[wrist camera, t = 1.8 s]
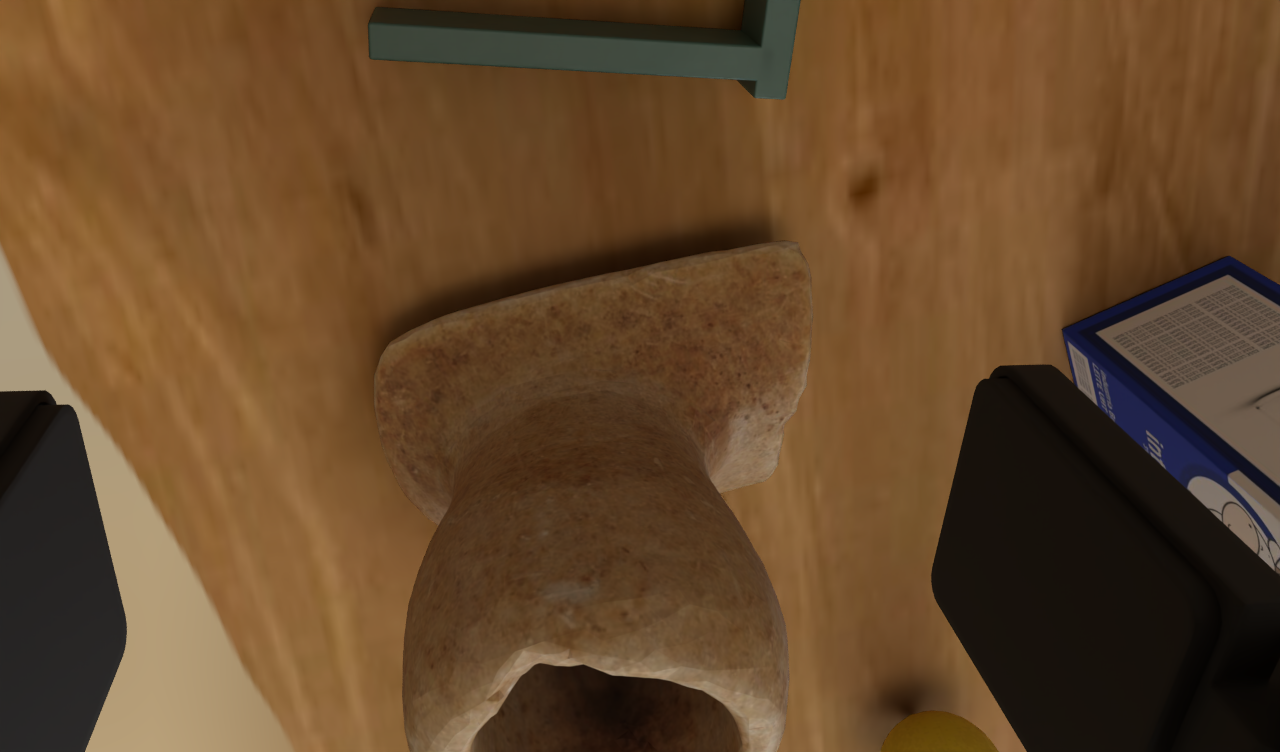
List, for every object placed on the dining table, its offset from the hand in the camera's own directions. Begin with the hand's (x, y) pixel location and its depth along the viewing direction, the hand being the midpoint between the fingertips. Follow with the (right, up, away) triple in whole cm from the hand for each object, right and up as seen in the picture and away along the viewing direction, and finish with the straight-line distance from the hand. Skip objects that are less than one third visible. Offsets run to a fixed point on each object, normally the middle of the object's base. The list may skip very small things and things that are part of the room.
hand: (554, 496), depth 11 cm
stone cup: (-1, 0, +27) cm, 27 cm away
